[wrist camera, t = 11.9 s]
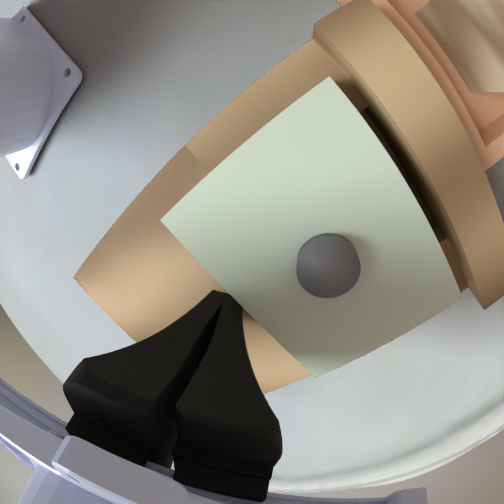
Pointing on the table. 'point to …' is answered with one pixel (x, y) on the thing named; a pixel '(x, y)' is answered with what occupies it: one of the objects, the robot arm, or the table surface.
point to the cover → (317, 234)
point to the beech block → (470, 39)
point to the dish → (451, 82)
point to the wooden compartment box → (257, 116)
